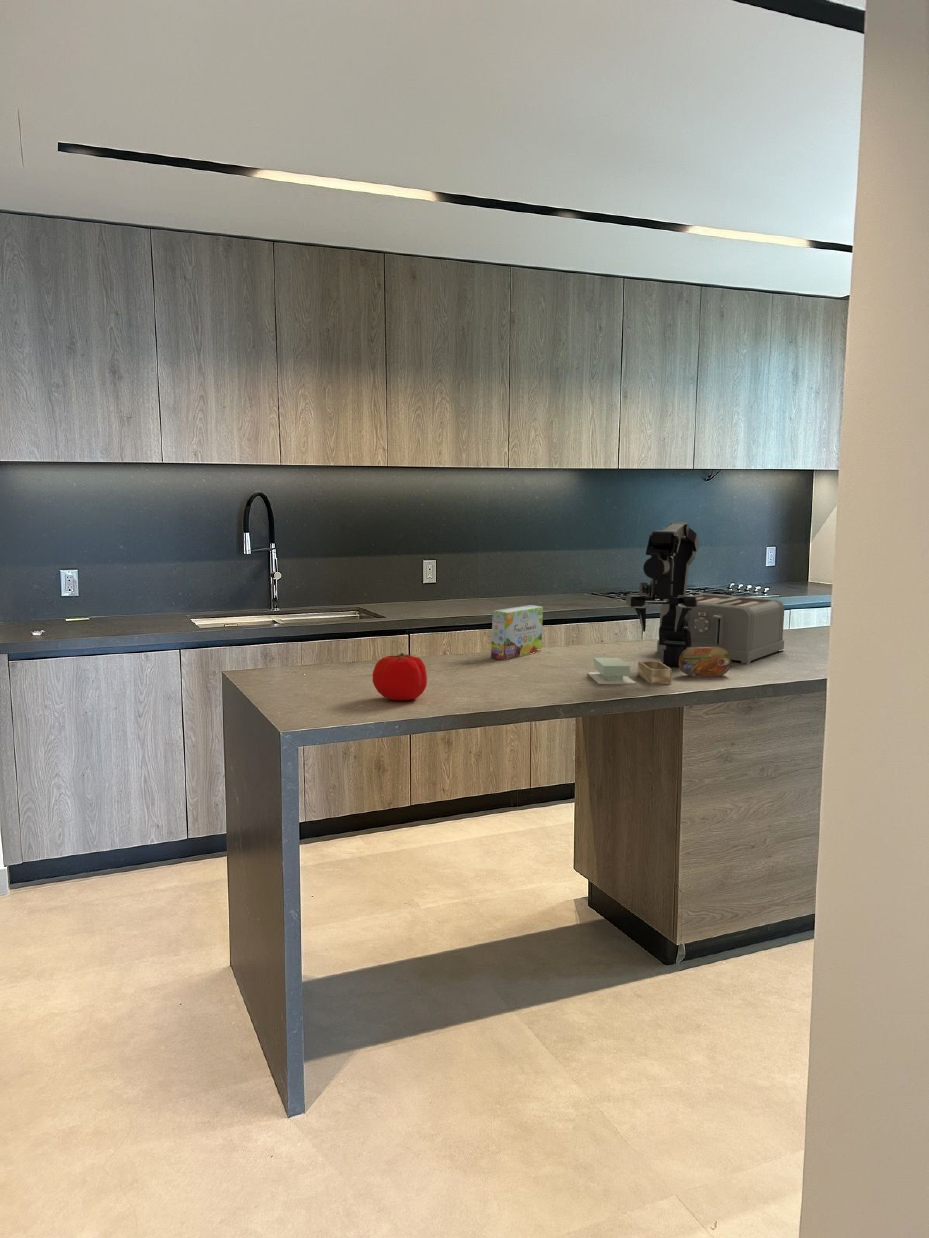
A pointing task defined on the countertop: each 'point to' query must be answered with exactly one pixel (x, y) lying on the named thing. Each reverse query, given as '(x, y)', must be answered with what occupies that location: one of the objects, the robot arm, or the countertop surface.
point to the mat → (602, 680)
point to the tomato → (400, 677)
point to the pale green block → (612, 668)
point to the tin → (705, 661)
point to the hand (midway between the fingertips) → (659, 631)
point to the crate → (654, 672)
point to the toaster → (735, 625)
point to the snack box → (516, 631)
